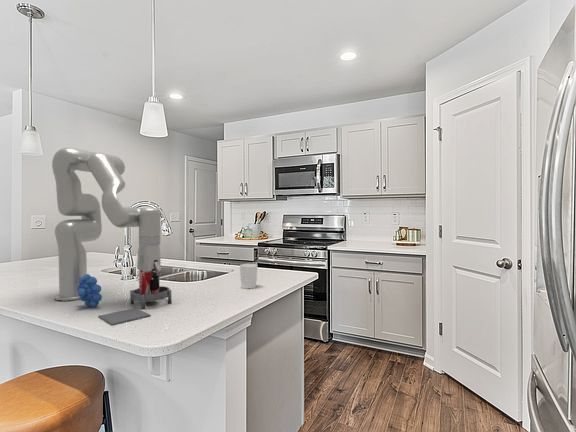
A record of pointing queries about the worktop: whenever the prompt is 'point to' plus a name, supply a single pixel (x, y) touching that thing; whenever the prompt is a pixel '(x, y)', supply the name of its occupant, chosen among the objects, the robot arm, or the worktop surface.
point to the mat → (124, 316)
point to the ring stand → (150, 296)
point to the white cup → (248, 275)
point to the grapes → (89, 291)
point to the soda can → (146, 283)
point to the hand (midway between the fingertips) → (149, 287)
